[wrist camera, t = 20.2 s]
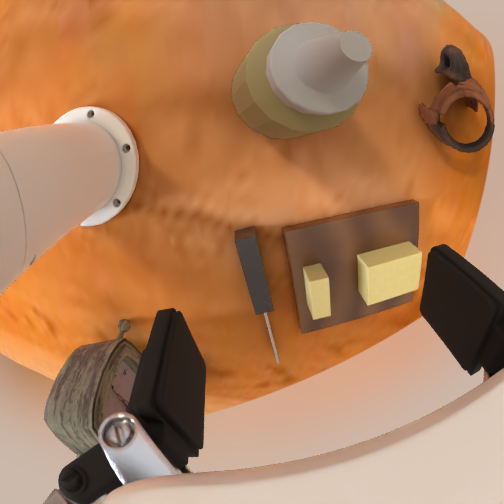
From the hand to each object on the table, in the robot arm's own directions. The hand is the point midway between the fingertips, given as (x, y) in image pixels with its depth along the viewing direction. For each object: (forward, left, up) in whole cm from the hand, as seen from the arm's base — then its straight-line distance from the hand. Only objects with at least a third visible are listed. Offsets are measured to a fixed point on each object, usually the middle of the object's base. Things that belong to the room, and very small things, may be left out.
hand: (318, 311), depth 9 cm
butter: (+12, -12, -18) cm, 24 cm away
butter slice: (+3, -11, -18) cm, 21 cm away
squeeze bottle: (+3, +8, -19) cm, 21 cm away
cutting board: (+9, -12, -19) cm, 24 cm away
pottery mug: (+23, +7, -19) cm, 31 cm away
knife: (-3, -13, -19) cm, 23 cm away
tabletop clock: (-23, -18, -19) cm, 35 cm away
